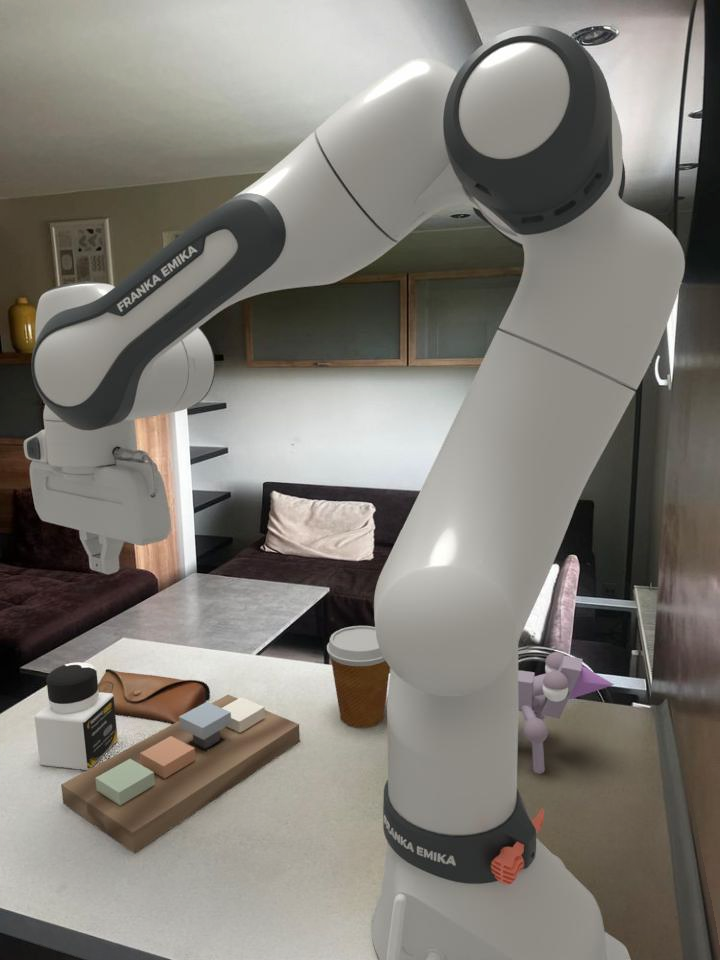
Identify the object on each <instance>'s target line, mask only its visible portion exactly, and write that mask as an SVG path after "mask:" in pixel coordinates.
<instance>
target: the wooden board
mask: <svg viewBox="0 0 720 960" xmlns="http://www.w3.org/2000/svg"><path fill="white" fill-rule="evenodd" d="M237 699H239V698H237V697H236V696H233V695H230V694H226V695H224V696H223V697H221V698H218V699H217V700H215V701H214V702H212V703H211V704H213V705H215V706H218V707H220V708H222V707H224V706H226V705H228V704H230V703H232V702H233V701H235V700H237ZM219 732H220V740H219V741H218V742H216V743H214V744H213V745H211V746H209V747H208V748H206V749H205V748H203V747H201V746H199V745H197V744H195V743H193V734H191V733H189V732H187V731H184V730H182V729H180V725H179V721H178V722H176V723H174V724H171V725H169V726H167V727H165V728H163V729H161V730H160V731H158V732H156V733H154V734H152V735H151V736H149V737H146V738H144V739H142V740H140V741H139V742H137V743H136V744H133V745H132V746H129V747H128V748H126V749H125V750H122V751H121V752H119V753H117V754H115V755H113V756H111V757H109V758H108V759H106V760H104V761H102V762H100V763H99V764H96V765H93V766H92V767H91V768H90V769H89V770H84V772H81V773H80V774H78V775H76V776H74V777H72V778H70V779H68V780H67V781H65V782H63V783H61V784H60V787H61V788H60V789H61V795H62V804H64V805H65V806H66V807H68V808H69V809H71V810H72V811H73V812H75V813H76V814H77V815H79V816H80V817H82V818H83V819H84V820H86V821H88V822H89V823H90V824H92V825H93V826H95V827H96V828H97V829H99V830H100V831H102V832H103V833H105V834H106V835H107V836H109V837H111V838H112V839H113V840H114V841H116V842H117V843H118V844H121V846H123V847H124V848H126V849H127V850H129V851H130V852H131V853H133V854H136V853H137V852H139V851H141V850H142V849H144V848H145V847H147V846H148V845H149V844H151V843H152V842H154V841H156V840H157V839H158V838H160V837H161V836H163V835H164V834H166V833H167V832H168V831H170V830H172V829H173V828H174V827H176V826H177V825H179V824H180V823H182V822H184V821H185V820H186V819H188V818H190V816H192V815H193V814H195V813H196V812H198V811H199V810H201V809H203V808H204V807H205V806H207V805H208V804H210V803H211V802H212V801H214V800H216V799H217V798H218V797H220V796H221V795H223V794H224V793H226V792H227V791H229V790H231V789H232V788H234V787H235V786H236V785H237V784H239V783H240V782H242V781H244V780H245V779H246V778H247V777H249V776H251V775H253V774H254V773H255V772H257V771H258V770H259V769H261V768H263V767H264V766H265V765H267V764H269V763H270V762H272V761H273V760H275V758H277V757H279V756H280V755H281V754H283V753H285V752H286V751H288V750H289V749H291V748H292V747H294V746H295V745H296V744H298V743H299V742H301V738H300V735H301V734H300V724H299V723H297V722H295V721H293V720H290V719H288V718H286V717H284V716H283V717H282V716H280V715H278V714H276V713H273V712H271V711H268V710H266V709H265V718H264V719H262V720H260V721H259V722H257V723H256V724H254V725H252V726H251V727H249V728H247V729H246V730H244V731H242V732H241V733H239V732H237V731H235V730H233V729H231V728H229V727H225V728H223V729H221V730H219ZM170 736H172V737H174V738H176V739H178V740H180V741H182V742H184V743H186V744H188V745H190V746H192V747H194V748H195V758H196V760H194V761H193V762H191V763H190V764H188V765H186V766H185V767H183V768H181V769H180V770H178V771H176V772H175V773H173V774H171V775H170V776H168V777H166V778H163V777H161V776H159V775H158V774H156V773H154V781H155V785H153V786H152V787H150V788H148V789H147V790H145V791H143V792H142V793H140V794H138V795H137V796H135V797H133V798H132V799H130V800H129V801H127V802H125V803H124V804H122V805H119V804H117V803H116V802H114V801H113V800H111V799H109V798H108V797H106V796H105V795H103V794H102V793H100V792H99V791H97V788H96V779H95V778H96V777H98V776H100V775H101V774H103V773H105V772H107V771H109V770H110V769H112V768H114V767H116V766H118V765H119V764H121V763H123V762H125V761H127V760H128V759H132V760H133V761H135V762H137V763H139V764H140V765H141V759H140V753H141V752H143V751H145V750H147V749H148V748H150V747H152V746H154V745H156V744H157V743H159V742H161V741H163V740H165V739H166V738H168V737H170Z"/></svg>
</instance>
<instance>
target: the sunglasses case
mask: <svg viewBox="0 0 720 960" xmlns="http://www.w3.org/2000/svg"><path fill="white" fill-rule="evenodd" d="M98 690H99V692H102V693H112V694H113V696H114V706H115V716H121V715H123V716H122V717H128V716H130V718H136V717H137V719H142V720H149V719H151V720H150V721H155V720H157V722H161V721H162V723H167V722H168V723H167V724H171V725H172V724H174V723H176V722H178V721H179V716H181V715H183V714H185V713H187V712H189V711H190V710H192V709H194V708H196V707H198V706H200V705H202V704H204V703H206V702H207V701H210V698H211V691H210V686H209V685H208V684H207V683H205V682H204V681H201V680H197V679H179V678H174V677H166V676H160V675H159V676H158V675H152V674H145V673H144V674H142V673H134V672H124V671H118V670H114V669H111V668H110V669H109V668H106V669H105V672H104V673H103V675H102V677H101V679H100V681H99V682H98Z"/></svg>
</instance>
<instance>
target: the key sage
mask: <svg viewBox="0 0 720 960" xmlns="http://www.w3.org/2000/svg"><path fill="white" fill-rule="evenodd" d="M95 779H96V788H97V791H99V792H100V793H102V794H103V795H105V796H106V797H108V798H109V799H111V800H113V801H114V802H116V803H117V804H119V805H122V804H124V803H125V802H127V801H129V800H130V799H132V798H133V797H135V796H137V795H138V794H140V793H142V792H143V791H145V790H147V789H148V788H150V787H152V786H153V785H155V781H154V772H153V771H151V770H149V769H147V768H146V767H144V766H142V765H140V764H139V763H137V762H135V761H133V760H132V759H128V760H127V761H125V762H123V763H121V764H119V765H118V766H116V767H114V768H112V769H110V770H109V771H107V772H105V773H103V774H101V775H100V776H98V777H96V778H95Z"/></svg>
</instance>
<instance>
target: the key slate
mask: <svg viewBox="0 0 720 960" xmlns="http://www.w3.org/2000/svg"><path fill="white" fill-rule="evenodd" d="M230 724H231V712H229V711H227V710H224V709H222V708H220V707H218V706H215V705H213V704H211V703H210V702H209V701H206V702H205V703H204V704H202V705H200V706H198V707H196V708H194V709H192V710H190V711H189V712H187V713H185V714H183V715H181V716H179V725H180V729H182V730H184V731H187V732H189V733H191V734H193V743H195V744H197V745H199V746H201V747H203V748H205V749H206V748H208V747H209V746H211V745H213V744H214V743H216V742H218V741H219V740H220V732H219V730H221V729H223V728H225V727H226V726H228V725H230Z"/></svg>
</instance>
